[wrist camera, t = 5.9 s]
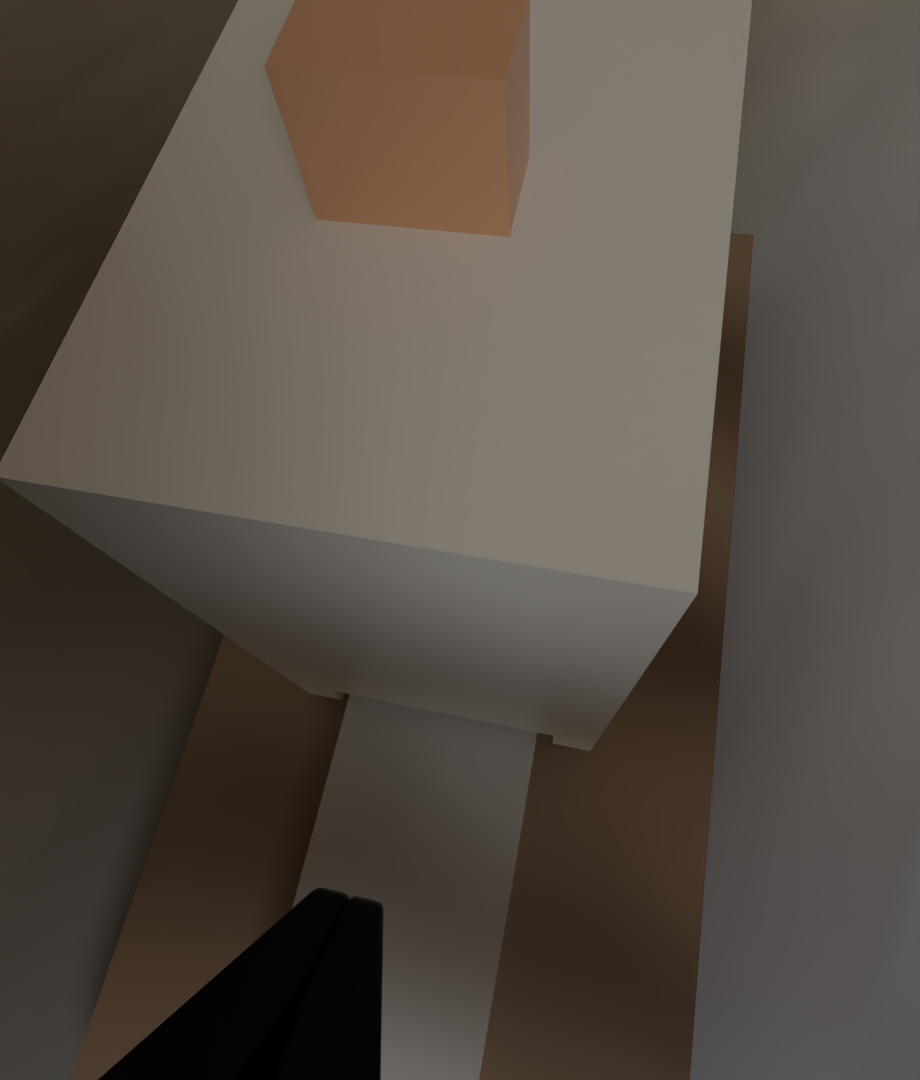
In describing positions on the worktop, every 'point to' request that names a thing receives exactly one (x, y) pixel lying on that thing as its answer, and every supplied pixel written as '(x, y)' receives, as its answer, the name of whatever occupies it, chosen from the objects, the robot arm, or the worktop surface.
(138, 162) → the worktop surface
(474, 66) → the block
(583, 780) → the rail board
